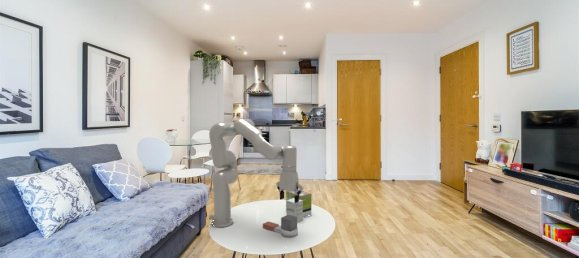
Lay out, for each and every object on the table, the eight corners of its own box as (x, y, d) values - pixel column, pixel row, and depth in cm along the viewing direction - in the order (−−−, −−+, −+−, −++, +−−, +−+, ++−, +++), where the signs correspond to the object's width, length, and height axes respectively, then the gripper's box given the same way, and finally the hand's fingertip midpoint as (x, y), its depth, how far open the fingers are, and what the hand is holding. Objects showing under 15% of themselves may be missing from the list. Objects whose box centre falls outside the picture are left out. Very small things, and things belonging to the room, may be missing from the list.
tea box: (285, 212, 175) (285, 190, 175) (297, 209, 181) (297, 188, 181) (300, 219, 163) (300, 195, 163) (312, 215, 169) (312, 192, 169)
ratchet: (301, 233, 142) (301, 221, 142) (291, 239, 135) (291, 226, 135) (270, 224, 155) (270, 213, 155) (260, 229, 148) (260, 217, 147)
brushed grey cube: (281, 228, 141) (281, 217, 140) (287, 225, 146) (287, 214, 145) (290, 231, 137) (290, 220, 137) (297, 227, 142) (297, 216, 142)
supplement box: (285, 220, 160) (286, 200, 160) (294, 217, 166) (294, 197, 166) (294, 223, 155) (294, 202, 155) (303, 220, 161) (303, 200, 160)
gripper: (272, 168, 143) (272, 199, 143) (298, 171, 132) (298, 205, 133) (280, 166, 149) (280, 196, 149) (306, 169, 139) (306, 201, 139)
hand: (289, 200), depth 141 cm, fingers open, 9 cm apart
